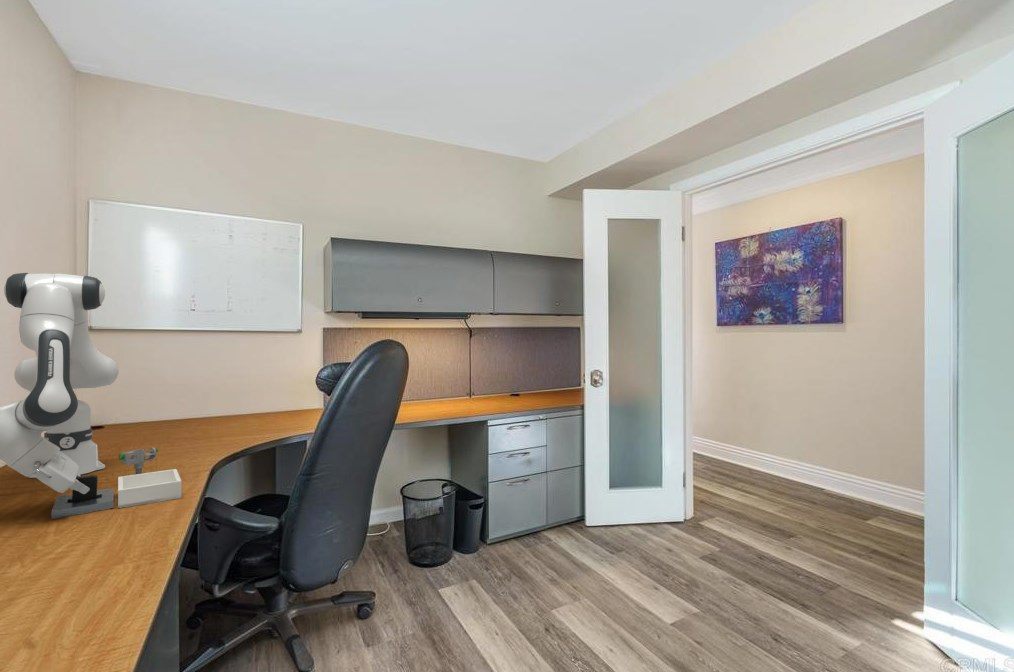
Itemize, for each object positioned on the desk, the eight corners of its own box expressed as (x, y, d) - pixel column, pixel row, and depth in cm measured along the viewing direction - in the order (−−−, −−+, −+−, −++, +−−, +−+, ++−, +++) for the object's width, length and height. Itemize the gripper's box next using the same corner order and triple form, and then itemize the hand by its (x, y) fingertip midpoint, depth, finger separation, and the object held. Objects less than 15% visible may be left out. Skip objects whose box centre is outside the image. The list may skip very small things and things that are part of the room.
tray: (118, 493, 141) (118, 476, 141) (176, 484, 150) (176, 468, 150) (118, 508, 129) (118, 490, 129) (181, 497, 137) (181, 481, 137)
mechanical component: (159, 478, 156) (159, 447, 156) (122, 487, 147) (122, 454, 147) (153, 477, 157) (153, 446, 157) (117, 486, 148) (117, 453, 148)
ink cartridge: (96, 503, 133) (97, 474, 133) (96, 505, 131) (97, 476, 131) (72, 507, 130) (73, 477, 130) (71, 509, 128) (72, 479, 128)
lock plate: (57, 503, 132) (57, 496, 132) (113, 494, 140) (113, 488, 140) (51, 519, 121) (51, 511, 121) (113, 508, 129) (113, 501, 129)
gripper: (45, 456, 118) (97, 489, 124) (54, 442, 134) (100, 471, 140) (19, 478, 115) (74, 510, 121) (31, 460, 131) (79, 489, 137)
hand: (88, 489), depth 131 cm, fingers open, 3 cm apart
